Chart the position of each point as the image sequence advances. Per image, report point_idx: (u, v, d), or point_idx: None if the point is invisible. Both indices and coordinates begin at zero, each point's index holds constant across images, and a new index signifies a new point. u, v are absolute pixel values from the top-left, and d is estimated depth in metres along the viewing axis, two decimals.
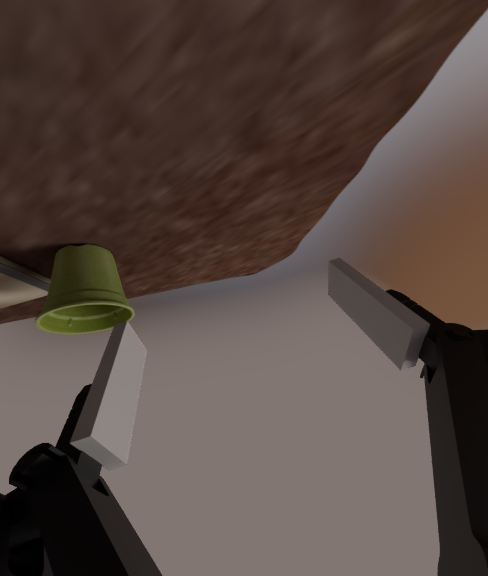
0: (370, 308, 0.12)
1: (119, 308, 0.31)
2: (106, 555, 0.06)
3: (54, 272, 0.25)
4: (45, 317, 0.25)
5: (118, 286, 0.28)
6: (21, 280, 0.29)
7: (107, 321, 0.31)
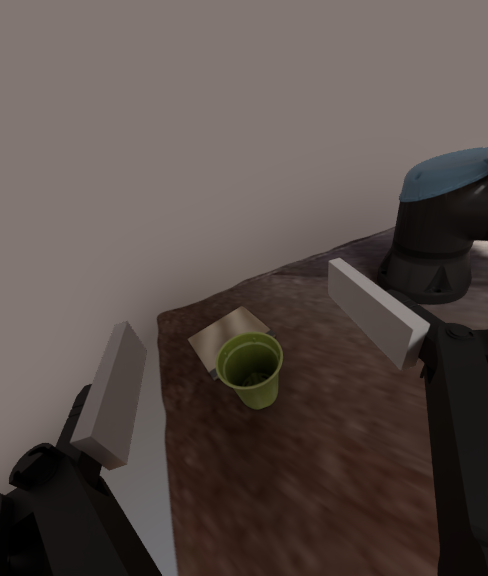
0: (370, 308, 0.12)
1: (236, 389, 0.30)
2: (106, 555, 0.06)
3: (264, 361, 0.37)
4: (243, 341, 0.36)
5: (267, 388, 0.31)
6: None
7: (222, 377, 0.31)
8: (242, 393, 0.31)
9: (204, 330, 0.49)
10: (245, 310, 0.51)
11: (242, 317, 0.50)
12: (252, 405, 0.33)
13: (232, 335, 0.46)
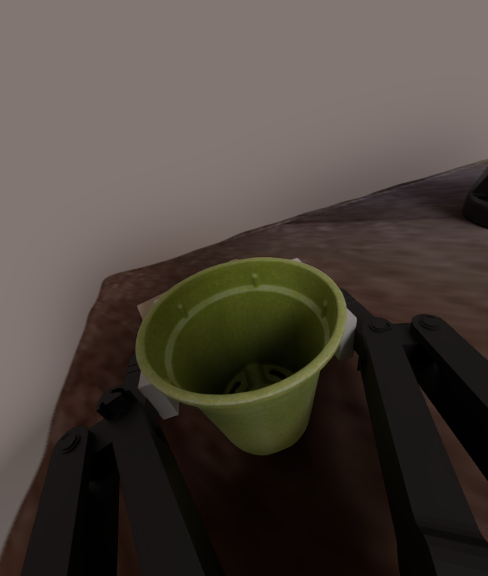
0: None
1: None
2: (166, 494, 0.07)
3: (277, 335, 0.16)
4: (228, 283, 0.15)
5: (294, 403, 0.10)
6: None
7: (155, 363, 0.10)
8: (214, 415, 0.10)
9: None
10: None
11: None
12: (246, 446, 0.12)
13: None
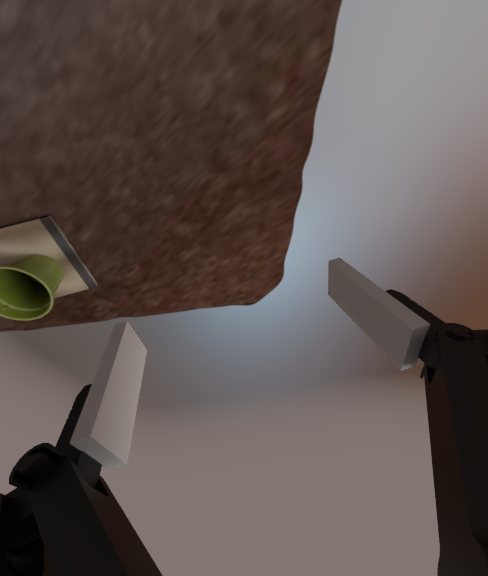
0: (370, 308, 0.12)
1: (48, 303, 0.38)
2: (106, 555, 0.06)
3: None
4: None
5: (50, 278, 0.37)
6: (73, 266, 0.42)
7: (35, 313, 0.37)
8: None
9: None
10: None
11: (4, 242, 0.38)
12: (60, 281, 0.42)
13: None
